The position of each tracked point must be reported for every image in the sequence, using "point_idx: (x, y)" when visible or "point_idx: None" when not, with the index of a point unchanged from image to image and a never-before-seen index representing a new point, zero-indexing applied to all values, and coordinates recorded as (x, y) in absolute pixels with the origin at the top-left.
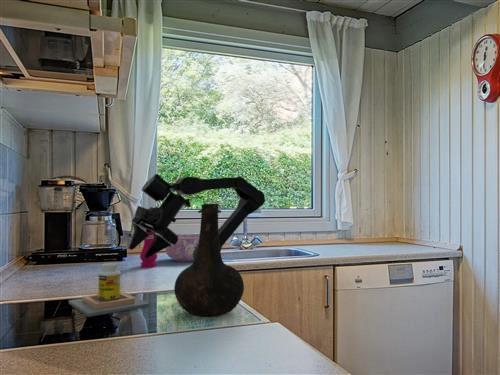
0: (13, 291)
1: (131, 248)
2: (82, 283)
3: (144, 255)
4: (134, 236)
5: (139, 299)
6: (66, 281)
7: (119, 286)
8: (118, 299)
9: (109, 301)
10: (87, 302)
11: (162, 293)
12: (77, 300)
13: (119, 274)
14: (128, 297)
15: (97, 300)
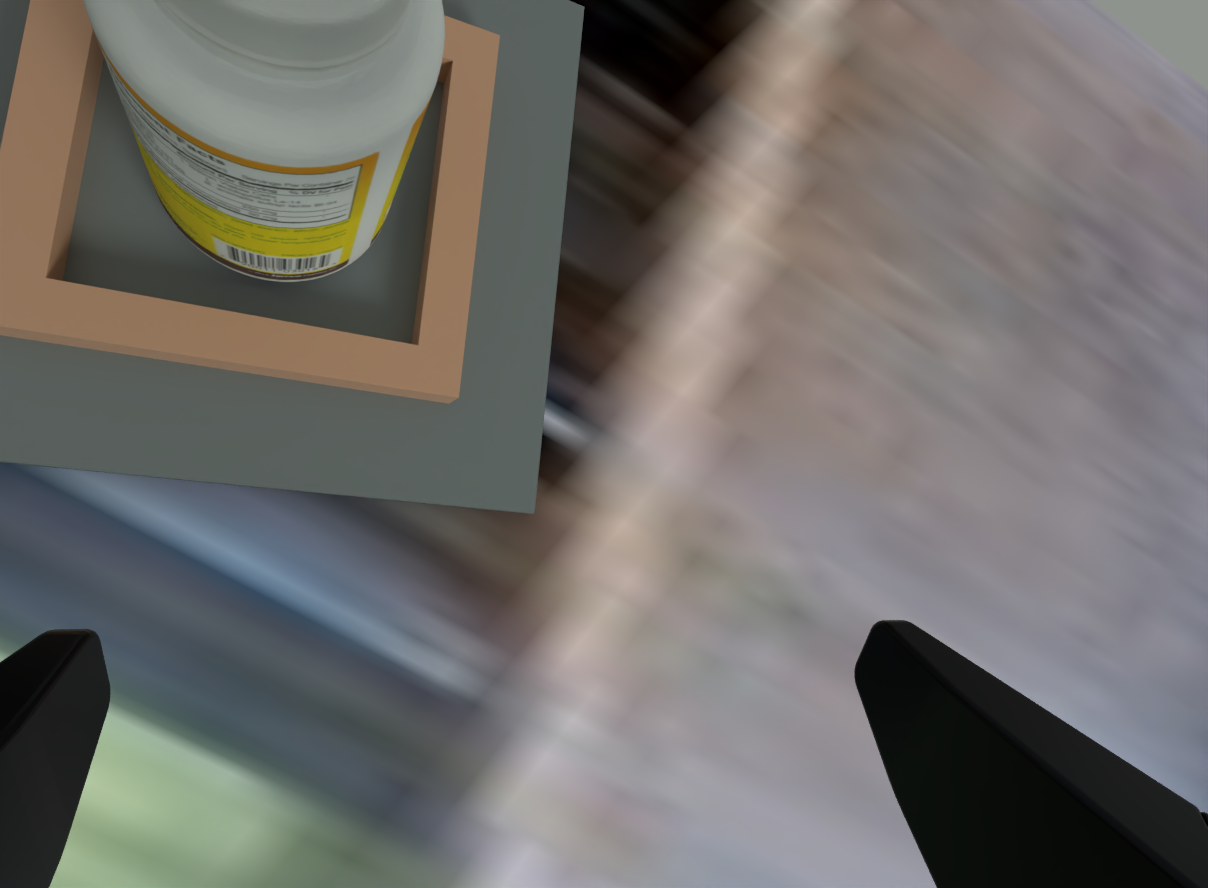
0: (1079, 36)
1: (874, 670)
2: (1070, 460)
3: (65, 641)
4: (1194, 867)
5: (102, 457)
6: (1162, 409)
7: (160, 172)
8: (170, 217)
9: (69, 39)
10: None
11: (312, 882)
12: (535, 45)
13: (120, 72)
14: (84, 292)
15: None
